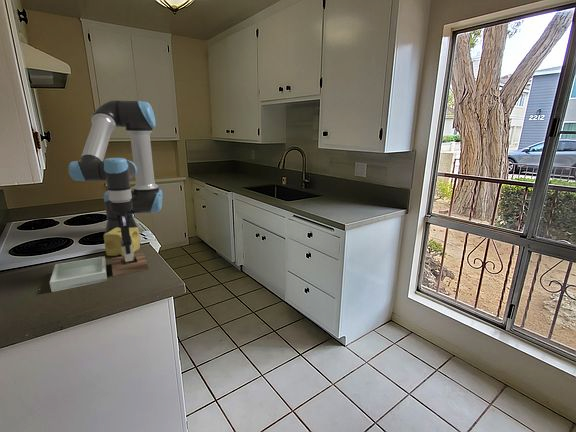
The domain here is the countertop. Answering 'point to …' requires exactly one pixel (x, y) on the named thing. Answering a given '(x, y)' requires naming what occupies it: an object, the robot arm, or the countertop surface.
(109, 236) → the cheese
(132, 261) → the brown and black cylinder
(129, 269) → the pin block
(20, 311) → the countertop surface
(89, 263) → the tray
